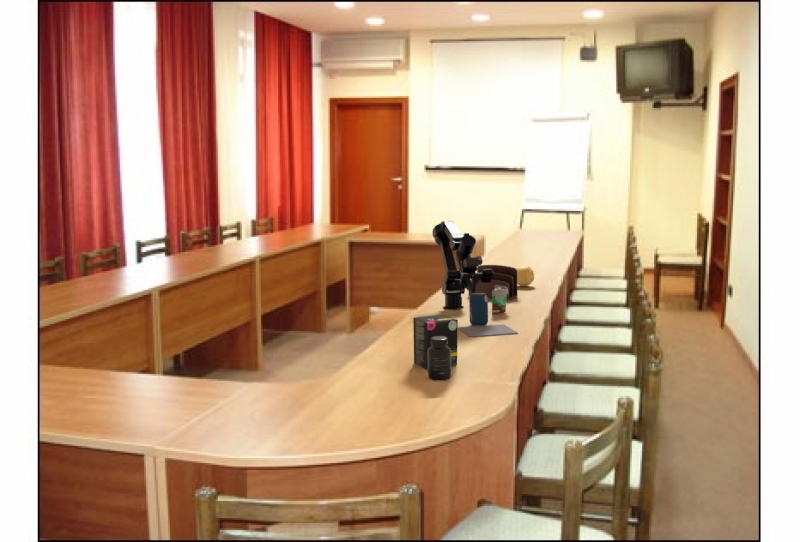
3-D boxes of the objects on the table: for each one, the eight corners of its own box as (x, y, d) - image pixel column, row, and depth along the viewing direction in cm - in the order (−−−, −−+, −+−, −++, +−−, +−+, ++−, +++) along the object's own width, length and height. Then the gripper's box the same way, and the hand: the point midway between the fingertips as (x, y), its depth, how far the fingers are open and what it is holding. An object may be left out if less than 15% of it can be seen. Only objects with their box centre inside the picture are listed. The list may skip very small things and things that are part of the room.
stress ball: (511, 288, 370) (516, 277, 361) (511, 271, 375) (516, 260, 367) (531, 291, 370) (536, 281, 362) (531, 274, 376) (536, 263, 367)
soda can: (491, 324, 289) (491, 292, 288) (480, 326, 284) (480, 294, 283) (477, 322, 293) (476, 291, 292) (466, 325, 288) (465, 293, 287)
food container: (507, 315, 305) (507, 290, 304) (491, 315, 307) (491, 290, 305) (509, 309, 317) (509, 285, 316) (494, 308, 319) (494, 285, 317)
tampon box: (427, 370, 230) (427, 323, 228) (412, 363, 239) (412, 317, 236) (458, 365, 235) (458, 318, 233) (443, 358, 244) (442, 313, 241)
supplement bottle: (426, 374, 226) (426, 335, 224) (449, 373, 227) (449, 334, 225) (429, 381, 219) (428, 340, 218) (452, 380, 220) (452, 340, 218)
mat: (458, 328, 284) (458, 327, 284) (504, 325, 288) (504, 324, 288) (469, 337, 271) (469, 336, 271) (517, 333, 275) (517, 332, 275)
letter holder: (477, 293, 354) (477, 263, 352) (517, 297, 344) (518, 266, 342) (468, 297, 346) (468, 266, 344) (508, 301, 335) (509, 269, 333)
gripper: (446, 250, 294) (454, 283, 285) (492, 248, 298) (502, 280, 289) (440, 268, 302) (448, 300, 293) (485, 265, 306) (495, 297, 297)
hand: (473, 294), depth 293 cm, fingers closed
